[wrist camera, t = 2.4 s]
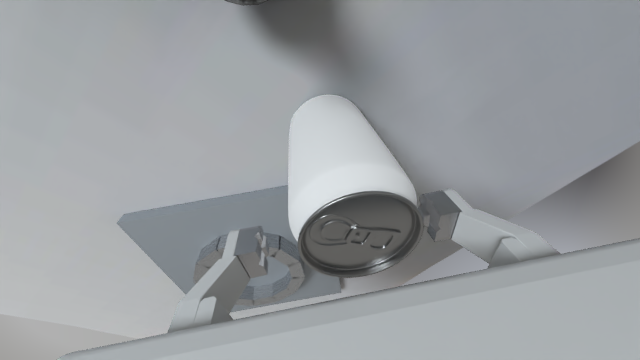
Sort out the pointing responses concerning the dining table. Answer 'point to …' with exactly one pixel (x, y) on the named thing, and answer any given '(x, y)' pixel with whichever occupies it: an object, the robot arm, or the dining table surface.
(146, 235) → the board
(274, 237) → the collar
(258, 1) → the salt shaker
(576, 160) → the dining table surface
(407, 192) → the can
